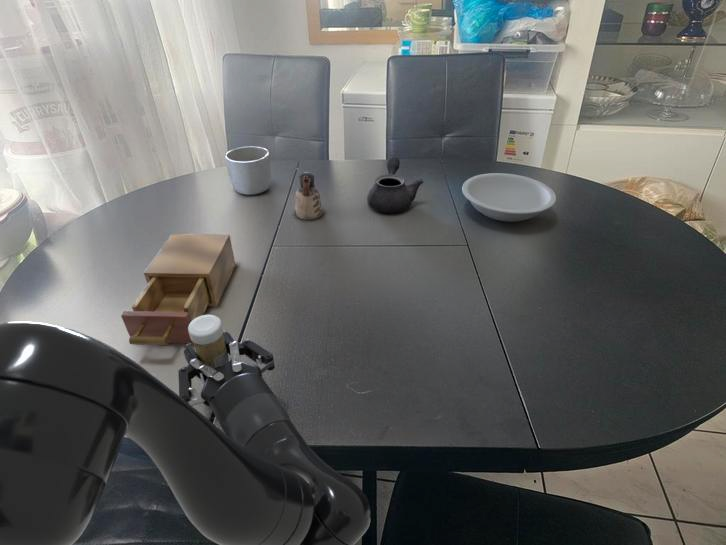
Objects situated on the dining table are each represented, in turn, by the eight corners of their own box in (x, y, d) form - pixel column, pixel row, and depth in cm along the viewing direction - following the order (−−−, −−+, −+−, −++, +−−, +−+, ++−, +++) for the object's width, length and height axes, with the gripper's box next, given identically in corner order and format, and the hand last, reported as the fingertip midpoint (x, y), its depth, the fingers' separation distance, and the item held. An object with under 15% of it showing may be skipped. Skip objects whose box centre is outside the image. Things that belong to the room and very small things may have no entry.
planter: (237, 201, 127) (230, 165, 121) (226, 185, 136) (220, 150, 129) (279, 193, 132) (274, 157, 125) (266, 177, 141) (261, 143, 134)
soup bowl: (467, 188, 134) (470, 168, 130) (551, 201, 127) (557, 179, 123) (451, 226, 116) (454, 203, 112) (548, 243, 109) (555, 219, 105)
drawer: (186, 360, 77) (177, 333, 73) (120, 359, 77) (108, 332, 73) (216, 295, 91) (210, 270, 87) (161, 294, 91) (152, 269, 88)
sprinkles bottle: (200, 390, 70) (180, 326, 62) (222, 371, 73) (206, 309, 66) (219, 403, 68) (202, 339, 60) (242, 384, 71) (227, 321, 63)
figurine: (324, 208, 124) (322, 167, 117) (319, 221, 118) (317, 178, 111) (299, 207, 124) (295, 166, 117) (293, 219, 119) (289, 177, 112)
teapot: (425, 215, 121) (428, 180, 115) (368, 216, 120) (368, 182, 114) (414, 185, 136) (417, 153, 130) (364, 186, 135) (364, 154, 129)
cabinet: (216, 306, 90) (208, 274, 85) (155, 305, 90) (143, 273, 85) (235, 265, 101) (229, 234, 97) (181, 264, 102) (172, 233, 97)
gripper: (299, 372, 58) (244, 304, 69) (191, 428, 51) (149, 343, 62) (304, 409, 63) (251, 339, 74) (204, 465, 56) (163, 379, 67)
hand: (205, 341), depth 68 cm, fingers closed on sprinkles bottle, 4 cm apart
